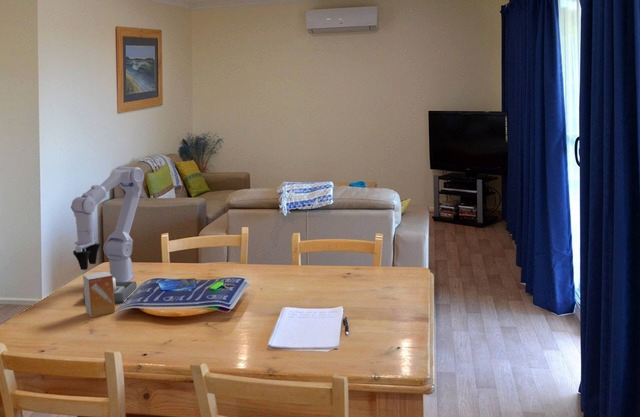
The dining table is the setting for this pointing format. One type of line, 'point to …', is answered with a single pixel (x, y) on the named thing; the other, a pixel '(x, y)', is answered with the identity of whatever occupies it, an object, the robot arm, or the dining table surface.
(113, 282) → the bottle
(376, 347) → the dining table surface
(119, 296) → the walled box
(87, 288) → the small box
